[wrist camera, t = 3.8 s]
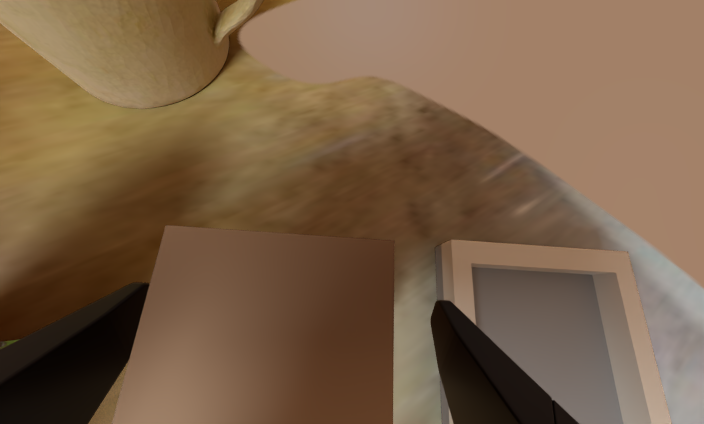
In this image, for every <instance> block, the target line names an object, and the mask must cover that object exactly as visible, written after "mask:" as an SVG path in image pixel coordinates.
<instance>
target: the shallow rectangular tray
mask: <svg viewBox="0 0 704 424" xmlns="http://www.w3.org/2000/svg"><path fill="white" fill-rule="evenodd" d="M435 257H436V283H437V300H449V301H451V302H452V303H453V304H454V305H455V306H456V307H458V308H459V309H460V310H461V311H462V312H463V313H464V314H465V315H466V316H467V317H468V318H469V319H470V320H471V321H472V322H473V323H474V324H475V325H476V326H477V327H478V328H480V329H481V330H482V331H483V332H484V333H485V334H486V335H487V336H488V337H489V338H490V339H491V340H492V341H493V342H494V343H495V344H496V345H497V346H498V347H499V348H500V349H501V350H503V351H504V352H505V353H506V354H507V355H508V356H509V357H510V358H511V359H512V360H513V361H514V362H515V363H516V364H517V365H518V366H519V367H520V368H521V369H522V370H523V371H525V372H526V373H527V374H528V375H529V376H530V377H531V378H532V379H533V380H534V381H535V382H536V383H537V384H538V385H539V386H540V387H541V388H542V389H543V390H544V391H545V392H546V393H548V394H549V395H550V396H551V398H552V400H555V401H556V402H557V403H558V404H559V405H560V406H561V407H562V408H563V409H564V410H565V411H567V412H568V413H569V414H570V415H571V416H572V417H573V418H574V419H575V420H576V421H577V422H578V423H579V424H672V423H671V419H670V415H669V411H668V407H667V403H666V399H665V395H664V391H663V387H662V383H661V379H660V376H659V372H658V368H657V364H656V360H655V356H654V352H653V348H652V344H651V340H650V336H649V332H648V328H647V324H646V320H645V317H644V313H643V309H642V305H641V301H640V297H639V293H638V289H637V285H636V281H635V277H634V273H633V269H632V265H631V261H630V258H629V254H628V252H625V251H610V250H596V249H581V248H567V247H552V246H538V245H523V244H509V243H494V242H480V241H465V240H449V241H447V242H445V243H443V244H441V245H439V246H437V247H435ZM440 387H441V413H442V424H453V420H452V417H451V413H450V410H449V406H448V402H447V399H446V395H445V392H444V388H443V385H442V381H441V377H440Z"/></svg>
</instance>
